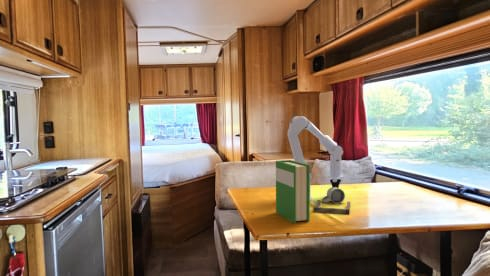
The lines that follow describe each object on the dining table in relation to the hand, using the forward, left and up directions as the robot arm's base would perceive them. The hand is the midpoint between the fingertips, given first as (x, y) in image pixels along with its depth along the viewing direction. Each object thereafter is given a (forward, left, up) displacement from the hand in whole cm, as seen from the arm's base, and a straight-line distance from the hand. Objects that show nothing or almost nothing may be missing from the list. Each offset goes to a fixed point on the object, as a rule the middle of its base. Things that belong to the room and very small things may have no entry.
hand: (335, 192), depth 194 cm
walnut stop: (0, -23, -3) cm, 23 cm away
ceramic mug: (-1, -9, -3) cm, 9 cm away
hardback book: (-16, -41, -3) cm, 45 cm away
